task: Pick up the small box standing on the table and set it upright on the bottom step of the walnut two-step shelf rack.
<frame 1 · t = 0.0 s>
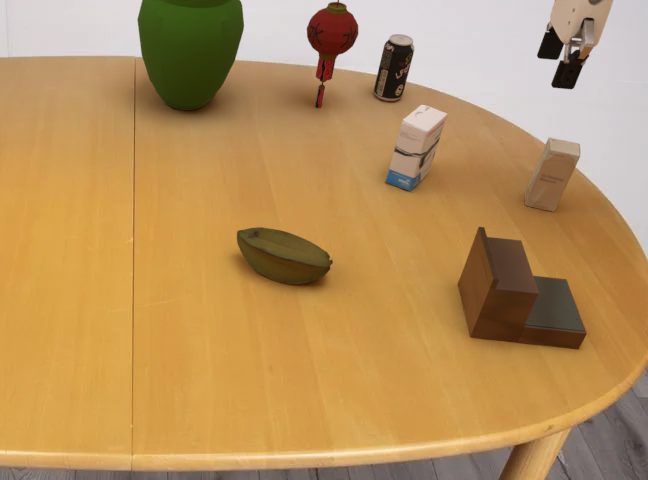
hand: (554, 72, 132), 24 cm above the table, tool pointing down, fingers open, 9 cm apart
vase: (184, 102, 170), on the table
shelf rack: (516, 315, 127), on the table
box: (539, 203, 149), on the table
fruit: (281, 270, 132), on the table
ink box: (407, 178, 153), on the table
beverage can: (387, 97, 175), on the table
lantern: (317, 107, 171), on the table
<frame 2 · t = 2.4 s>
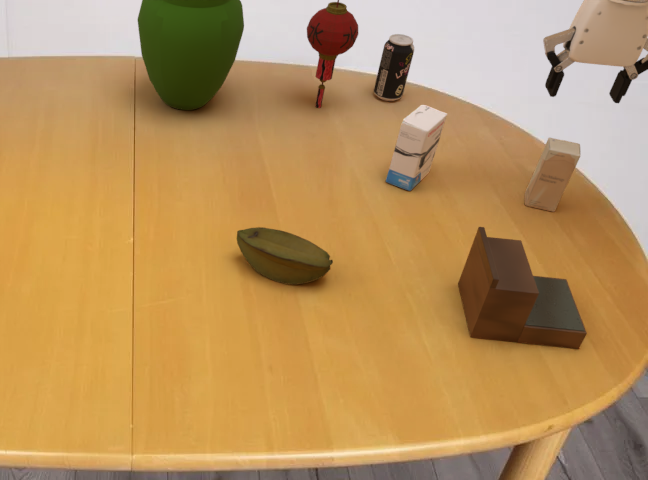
hand: (582, 95, 136), 20 cm above the table, tool pointing down, fingers open, 9 cm apart
nothing on the table moved.
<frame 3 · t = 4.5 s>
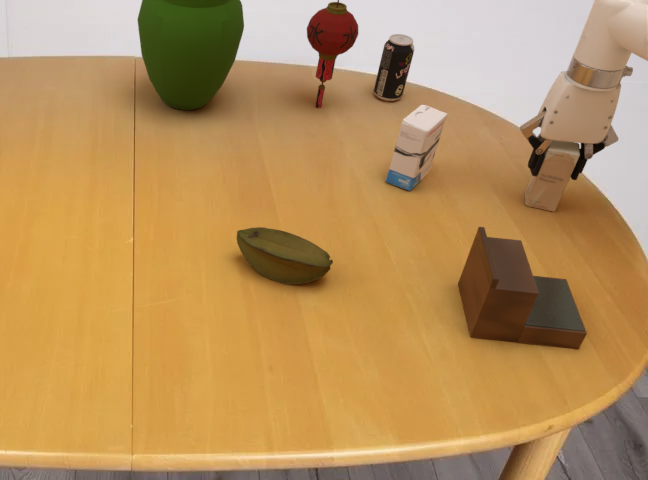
hand: (552, 172, 145), 6 cm above the table, tool pointing down, fingers closed on box, 5 cm apart
box: (539, 203, 149), on the table, touching gripper
everything else where it was.
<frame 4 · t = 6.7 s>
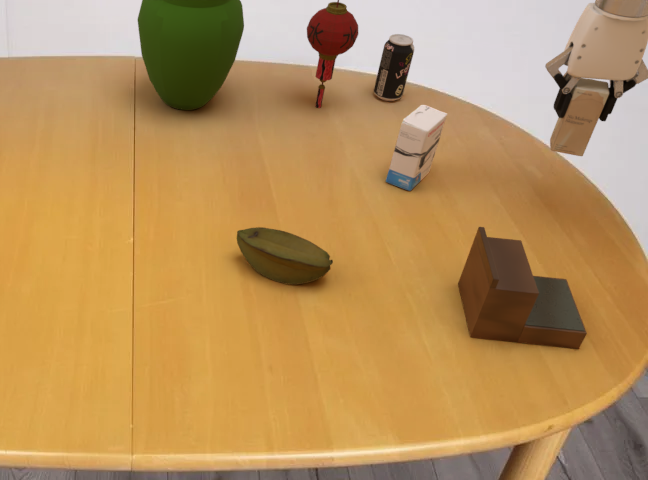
hand: (580, 114, 137), 17 cm above the table, tool pointing down, fingers closed on box, 5 cm apart
box: (566, 149, 141), point 11 cm above the table, touching gripper
everything else where it was.
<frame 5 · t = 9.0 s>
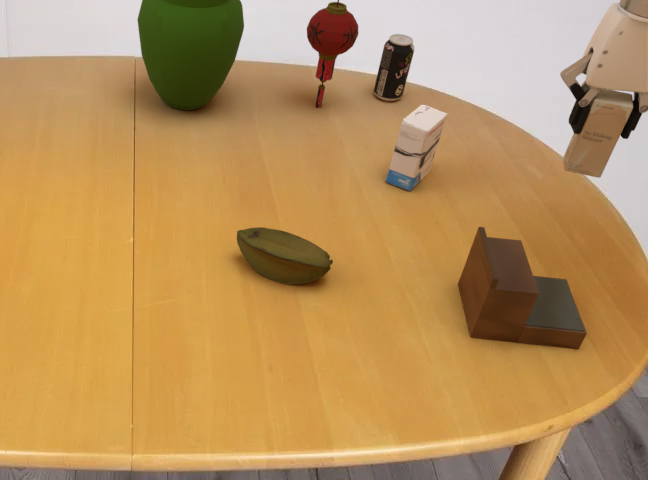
hand: (598, 130, 120), 23 cm above the table, tool pointing down, fingers closed on box, 5 cm apart
box: (581, 168, 124), point 17 cm above the table, touching gripper
everything else where it was.
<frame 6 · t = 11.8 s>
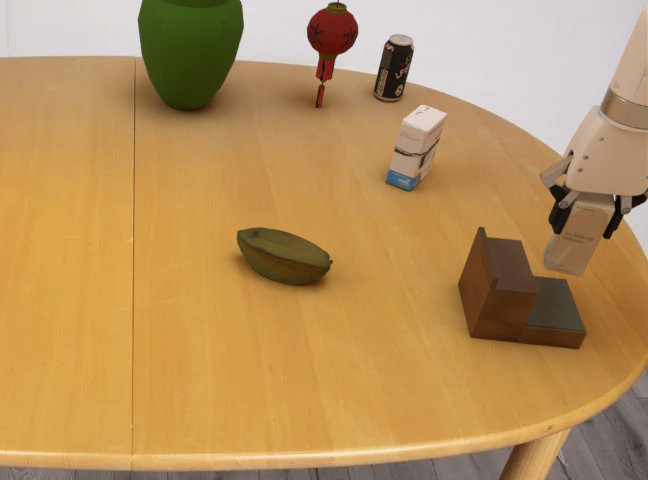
hand: (579, 229, 116), 16 cm above the table, tool pointing down, fingers closed on box, 5 cm apart
box: (562, 265, 120), point 10 cm above the table, touching gripper
everything else where it was.
when the fingers open (9 cm above the table, at t = 13.8 s): box stays where it is, resting on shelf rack.
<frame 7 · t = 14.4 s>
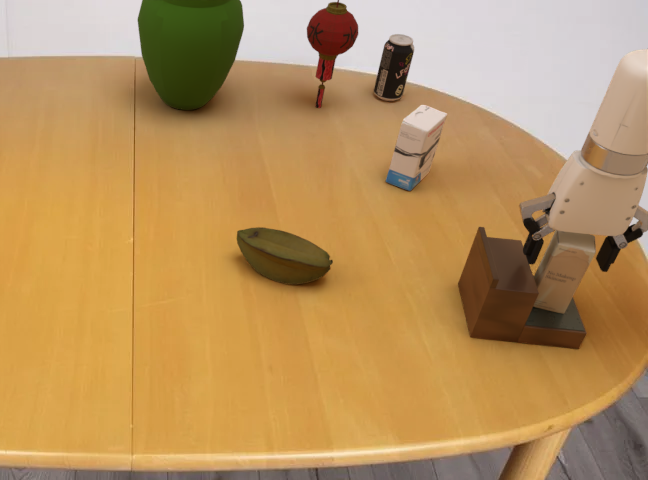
hand: (564, 262, 120), 10 cm above the table, tool pointing down, fingers open, 9 cm apart
box: (546, 302, 125), point 3 cm above the table, touching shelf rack
everything else where it was.
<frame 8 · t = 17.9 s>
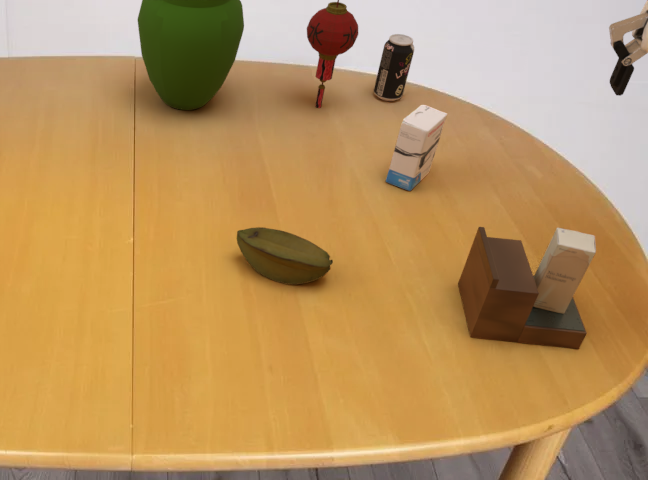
nothing on the table moved.
at the end: box inside the target area on the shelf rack (0.1 cm from its centre), point 2.9 cm above the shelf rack's base; box tilted 0°; the gripper is holding nothing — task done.
